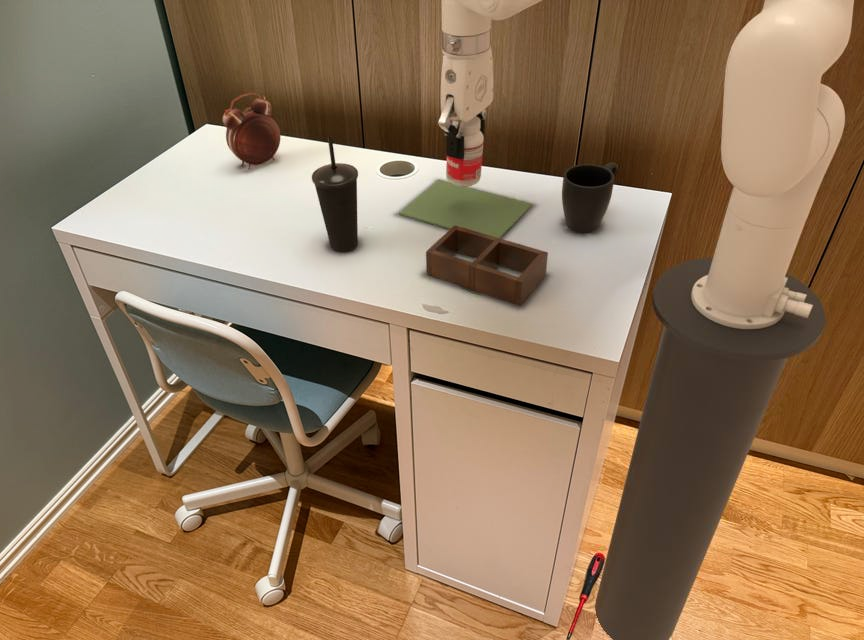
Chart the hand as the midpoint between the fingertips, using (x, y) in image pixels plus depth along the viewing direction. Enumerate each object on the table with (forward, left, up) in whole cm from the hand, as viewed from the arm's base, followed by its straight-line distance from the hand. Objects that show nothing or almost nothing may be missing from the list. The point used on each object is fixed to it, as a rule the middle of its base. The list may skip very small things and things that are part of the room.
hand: (465, 147), depth 123 cm
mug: (-21, -7, -12) cm, 25 cm away
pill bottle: (0, 0, -6) cm, 6 cm away
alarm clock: (+48, +4, -13) cm, 50 cm away
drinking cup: (+13, +20, -12) cm, 27 cm away
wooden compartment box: (-13, +16, -12) cm, 24 cm away
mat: (0, 0, -12) cm, 12 cm away
